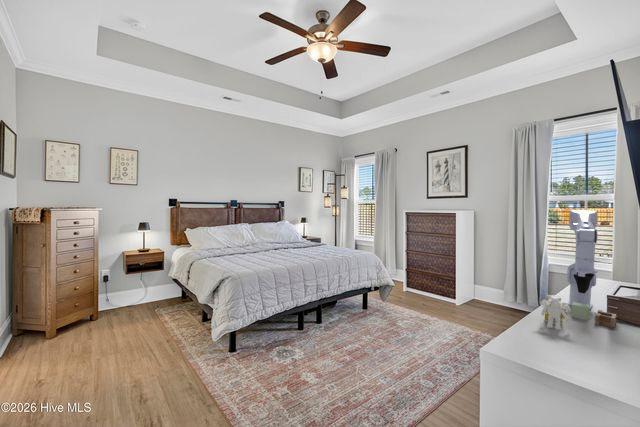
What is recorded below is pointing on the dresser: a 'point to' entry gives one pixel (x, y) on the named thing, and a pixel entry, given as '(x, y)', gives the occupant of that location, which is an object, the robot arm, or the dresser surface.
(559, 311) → the blocky character figurine
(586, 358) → the dresser surface
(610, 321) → the walnut channel
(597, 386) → the dresser surface
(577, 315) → the sage block
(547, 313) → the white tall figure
